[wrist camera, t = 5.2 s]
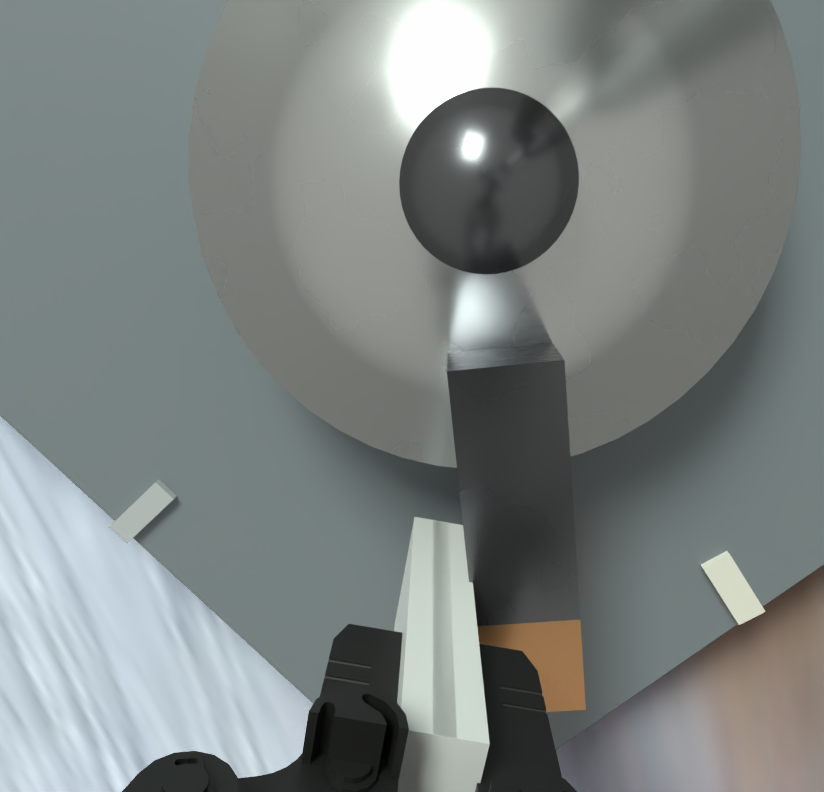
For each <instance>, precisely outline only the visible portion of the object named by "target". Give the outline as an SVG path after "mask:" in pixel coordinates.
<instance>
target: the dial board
mask: <svg viewBox="0 0 824 792" xmlns="http://www.w3.org/2000/svg"><path fill="white" fill-rule="evenodd" d="M228 1H229V0H0V416H1V417H3V418H4V419H5V420H6V421H7V422H8V423H9V424H10V425H11V426H12V427H13V428H15V429H16V430H17V431H18V432H19V433H20V434H21V435H22V436H23V437H24V438H25V439H26V440H28V441H29V442H30V443H31V444H32V445H33V446H34V447H35V448H36V449H37V450H38V451H40V452H41V453H42V454H43V455H44V456H45V457H46V458H47V459H48V460H49V461H50V462H51V463H53V464H54V465H55V466H56V467H57V468H58V469H59V470H60V471H61V472H62V473H63V474H65V475H66V476H67V477H68V478H69V479H70V480H71V481H72V482H73V483H74V484H75V485H76V486H78V487H79V488H80V489H81V490H82V491H83V492H84V493H85V494H86V495H87V496H88V497H90V498H91V499H92V500H93V501H94V502H95V503H96V504H97V505H98V506H99V507H100V508H101V509H103V510H104V511H105V512H106V513H107V514H108V515H109V516H110V517H111V518H112V519H113V520H115V522H114V523H113V524H112V525H111V526H110V527H109V528H110V529H112V530H113V531H114V532H115V533H116V534H117V535H118V536H119V537H120V538H121V539H122V540H124V541H125V542H126V543H128V542H129V541H130V540H131V539H132V538H134V539H135V540H136V541H137V542H138V543H140V544H141V545H142V546H143V547H144V548H145V549H146V550H147V551H148V552H149V553H150V554H151V555H153V556H154V557H155V558H156V559H157V560H158V561H159V562H160V563H161V564H162V565H163V566H165V567H166V568H167V569H168V570H169V571H170V572H171V573H172V574H173V575H174V576H175V577H176V578H178V579H179V580H180V581H181V582H182V583H183V584H184V585H185V586H186V587H187V588H188V589H190V590H191V591H192V592H193V593H194V594H195V595H196V596H197V597H198V598H199V599H200V600H201V601H203V602H204V603H205V604H206V605H207V606H208V607H209V608H210V609H211V610H212V611H213V612H215V613H216V614H217V615H218V616H219V617H220V618H221V619H222V620H223V621H224V622H225V623H226V624H228V625H229V626H230V627H231V628H232V629H233V630H234V631H235V632H236V633H237V634H238V635H240V636H241V637H242V638H243V639H244V640H245V641H246V642H247V643H248V644H249V645H250V646H251V647H253V648H254V649H255V650H256V651H257V652H258V653H259V654H260V655H261V656H262V657H263V658H265V659H266V660H267V661H268V662H269V663H270V664H271V665H272V666H273V667H274V668H275V669H276V670H278V671H279V672H280V673H281V674H282V675H283V676H284V677H285V678H286V679H287V680H288V681H290V682H291V683H292V684H293V685H294V686H295V687H296V688H297V689H298V690H299V691H300V692H301V693H303V694H304V695H305V696H306V697H307V698H308V699H309V700H310V701H311V702H312V703H313V704H314V702H315V700H316V699H317V698H319V697H320V693H321V689H322V685H323V681H324V677H325V672H326V668H327V664H328V660H329V656H330V652H331V647H332V643H333V639H334V638H335V637H336V636H337V635H338V634H339V633H340V632H341V631H342V630H343V629H344V628H345V627H346V626H347V625H348V624H354V625H360V626H366V627H372V628H378V629H384V630H390V631H394V626H395V619H396V614H397V608H398V603H399V598H400V592H401V587H402V582H403V576H404V571H405V565H406V560H407V555H408V549H409V544H410V538H411V533H412V528H413V522H414V517H419V518H425V519H431V520H437V521H443V522H448V523H454V524H460V525H463V520H462V511H461V501H460V492H459V483H458V473H457V468H454V467H444V466H436V465H432V464H428V463H423V462H419V461H414V460H410V459H405V458H402V457H399V456H396V455H394V454H391V453H388V452H385V451H382V450H380V449H377V448H374V447H371V446H369V445H367V444H365V443H363V442H361V441H359V440H357V439H355V438H353V437H351V436H349V435H347V434H345V433H343V432H341V431H339V430H338V429H336V428H335V427H333V426H332V425H330V424H329V423H327V422H326V421H324V420H323V419H321V418H320V417H318V416H317V415H315V414H314V413H312V412H311V411H309V410H308V409H307V408H306V407H305V406H304V405H302V404H301V403H300V402H299V401H298V400H297V399H295V398H294V397H293V396H292V395H291V394H290V393H288V392H287V391H286V390H285V389H284V388H283V387H282V386H281V385H280V384H279V383H278V382H277V381H276V380H275V379H274V378H273V376H272V375H271V374H270V373H269V372H268V371H267V370H266V369H265V368H264V367H263V365H262V364H261V363H260V362H259V361H258V360H257V359H256V357H255V356H254V354H253V353H252V352H251V350H250V349H249V347H248V346H247V344H246V343H245V342H244V340H243V339H242V337H241V336H240V335H239V333H238V332H237V330H236V329H235V327H234V325H233V323H232V321H231V319H230V318H229V316H228V314H227V312H226V310H225V308H224V306H223V305H222V303H221V301H220V299H219V297H218V295H217V292H216V290H215V287H214V285H213V282H212V280H211V277H210V274H209V272H208V269H207V267H206V264H205V262H204V259H203V255H202V251H201V247H200V243H199V239H198V235H197V231H196V227H195V223H194V217H193V209H192V201H191V193H190V186H189V135H190V126H191V118H192V109H193V101H194V96H195V92H196V88H197V84H198V80H199V76H200V72H201V68H202V64H203V59H204V56H205V54H206V51H207V49H208V46H209V43H210V41H211V38H212V36H213V33H214V30H215V28H216V25H217V23H218V20H219V18H220V16H221V14H222V12H223V10H224V8H225V6H226V5H227V3H228ZM770 1H771V3H772V5H773V7H774V9H775V11H776V14H777V16H778V18H779V21H780V24H781V27H782V30H783V33H784V36H785V39H786V43H787V46H788V49H789V52H790V55H791V58H792V62H793V68H794V74H795V80H796V85H797V91H798V97H799V103H800V125H801V157H800V168H799V179H798V190H797V195H796V199H795V204H794V208H793V213H792V218H791V222H790V227H789V231H788V234H787V237H786V240H785V243H784V246H783V248H782V251H781V254H780V257H779V260H778V262H777V265H776V268H775V271H774V273H773V275H772V277H771V279H770V281H769V283H768V285H767V287H766V289H765V291H764V293H763V295H762V297H761V299H760V301H759V303H758V305H757V307H756V309H755V310H754V312H753V313H752V315H751V316H750V318H749V319H748V321H747V323H746V324H745V326H744V327H743V329H742V330H741V332H740V333H739V335H738V336H737V338H736V339H735V341H734V342H733V343H732V344H731V346H730V347H729V348H728V349H727V350H726V352H725V353H724V354H723V355H722V356H721V357H720V359H719V360H718V361H717V362H716V363H715V365H714V366H713V367H712V368H711V369H710V370H709V372H708V373H707V374H705V375H704V376H703V377H702V378H701V379H700V380H699V381H698V382H697V383H696V384H695V385H694V386H693V387H691V388H690V389H689V390H688V391H687V392H686V393H685V394H684V395H683V396H682V397H681V398H680V399H678V400H677V401H676V402H674V403H673V404H671V405H670V406H669V407H667V408H666V409H665V410H663V411H662V412H660V413H659V414H658V415H656V416H655V417H653V418H652V419H651V420H649V421H648V422H646V423H644V424H643V425H641V426H639V427H637V428H635V429H634V430H632V431H630V432H628V433H626V434H625V435H623V436H621V437H619V438H617V439H616V440H613V441H611V442H608V443H606V444H603V445H601V446H599V447H596V448H594V449H591V450H589V451H586V452H584V453H581V454H578V455H574V456H571V474H572V490H573V507H574V523H575V539H576V556H577V572H578V589H579V605H580V621H581V638H582V654H583V671H584V687H585V703H586V710H574V711H555V712H546V714H547V715H548V719H549V723H550V728H551V732H552V737H553V741H554V746H555V750H556V749H557V748H559V747H560V746H562V745H563V744H565V743H566V742H568V741H569V740H570V739H572V738H573V737H575V736H576V735H578V734H579V733H581V732H582V731H583V730H585V729H586V728H588V727H589V726H591V725H592V724H594V723H595V722H596V721H598V720H599V719H601V718H602V717H604V716H605V715H607V714H608V713H609V712H611V711H612V710H614V709H615V708H617V707H618V706H620V705H621V704H622V703H624V702H625V701H627V700H628V699H630V698H631V697H633V696H634V695H636V694H637V693H638V692H640V691H641V690H643V689H644V688H646V687H647V686H649V685H650V684H651V683H653V682H654V681H656V680H657V679H659V678H660V677H662V676H663V675H664V674H666V673H667V672H669V671H670V670H672V669H673V668H675V667H676V666H677V665H679V664H680V663H682V662H683V661H685V660H686V659H688V658H689V657H691V656H692V655H693V654H695V653H696V652H698V651H699V650H701V649H702V648H704V647H705V646H706V645H708V644H709V643H711V642H712V641H714V640H715V639H717V638H718V637H719V636H721V635H722V634H724V633H725V632H727V631H728V630H730V629H731V628H732V627H734V626H735V625H737V624H739V625H740V624H742V623H744V622H746V621H748V620H750V619H752V618H754V617H756V616H758V615H760V614H762V613H764V612H766V611H765V610H764V608H763V606H764V605H766V604H767V603H769V602H770V601H772V600H773V599H774V598H776V597H777V596H779V595H780V594H782V593H783V592H785V591H786V590H787V589H789V588H790V587H792V586H793V585H795V584H796V583H798V582H799V581H800V580H802V579H803V578H805V577H806V576H808V575H809V574H811V573H812V572H814V571H815V570H816V569H818V568H819V567H821V566H822V565H824V0H770Z"/></svg>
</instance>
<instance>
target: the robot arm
mask: <svg viewBox="0 0 824 792" xmlns="http://www.w3.org/2000/svg"><path fill="white" fill-rule="evenodd" d="M122 792H577V791H576V790H575V789H574V788H573V787H572V786H571V785H570V784H569V783H568V782H567V781H566V780H565V779H563V778H562V777H561V772H560V768H559V763H558V759H557V754H556V750H555V746H554V741H553V737H552V732H551V728H550V723H549V719H548V715H547V714H546V706H545V701H544V697H543V696H542V688H541V683H540V679H539V675H538V671H537V669H536V668H535V667H534V665H533V664H532V663H531V662H530V660H529V659H528V658H527V656H526V655H525V654H524V652H523V651H520V650H514V649H508V648H502V647H496V646H490V645H484V644H479V637H478V628H477V618H476V609H475V599H474V589H473V583H471V582H469V577H468V568H467V558H466V549H465V539H464V530H463V525H460V524H454V523H448V522H443V521H437V520H431V519H425V518H419V517H414V522H413V528H412V533H411V538H410V544H409V549H408V555H407V560H406V565H405V571H404V576H403V582H402V587H401V592H400V598H399V603H398V608H397V614H396V619H395V626H394V631H390V630H384V629H378V628H372V627H366V626H360V625H354V624H348V625H347V626H346V627H345V628H344V629H343V630H342V631H341V632H340V633H339V634H338V635H337V636H336V637H335V638H334V639H333V643H332V647H331V652H330V656H329V660H328V664H327V668H326V672H325V677H324V681H323V685H322V689H321V693H320V697H319V698H317V699H316V700H315V702H314V704H313V706H312V707H311V709H310V711H309V715H308V721H307V728H306V734H305V741H304V747H303V753H302V754H301V756H300V757H299V758H298V759H297V760H296V761H294V762H293V763H292V764H290V765H289V766H288V767H286V768H284V769H281V770H279V771H277V772H274V773H271V774H267V775H262V776H256V777H248V778H239V779H238V778H237V776H236V775H235V773H234V771H233V770H232V768H231V767H230V765H229V764H227V763H226V762H224V761H223V760H221V759H219V758H218V757H216V756H215V755H211V754H206V753H202V752H197V751H190V752H179V753H173V754H170V755H168V756H165V757H163V758H160V759H158V760H155V761H154V762H152V763H151V764H150V765H149V766H147V767H146V768H145V769H143V770H142V771H141V772H140V773H139V774H138V775H137V776H136V777H135V778H134V779H133V780H132V781H131V782H130V784H129V785H128V786H127V787H126V788H125V789H124V790H123V791H122Z"/></svg>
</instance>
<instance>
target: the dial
mask: <svg viewBox="0 0 824 792" xmlns="http://www.w3.org/2000/svg"><path fill="white" fill-rule="evenodd" d="M800 157H801V125H800V103H799V97H798V91H797V85H796V80H795V74H794V68H793V62H792V58H791V55H790V52H789V49H788V46H787V43H786V39H785V36H784V33H783V30H782V27H781V24H780V21H779V18H778V16H777V14H776V11H775V9H774V7H773V5H772V3H771V1H770V0H229V1H228V3H227V5H226V6H225V8H224V10H223V12H222V14H221V16H220V18H219V20H218V23H217V25H216V28H215V30H214V33H213V36H212V38H211V41H210V43H209V46H208V49H207V51H206V54H205V56H204V59H203V64H202V68H201V72H200V76H199V80H198V84H197V88H196V92H195V96H194V101H193V109H192V118H191V126H190V135H189V186H190V193H191V201H192V209H193V217H194V223H195V227H196V231H197V235H198V239H199V243H200V247H201V251H202V255H203V259H204V262H205V264H206V267H207V269H208V272H209V274H210V277H211V280H212V282H213V285H214V287H215V290H216V292H217V295H218V297H219V299H220V301H221V303H222V305H223V306H224V308H225V310H226V312H227V314H228V316H229V318H230V319H231V321H232V323H233V325H234V327H235V329H236V330H237V332H238V333H239V335H240V336H241V337H242V339H243V340H244V342H245V343H246V344H247V346H248V347H249V349H250V350H251V352H252V353H253V354H254V356H255V357H256V359H257V360H258V361H259V362H260V363H261V364H262V365H263V367H264V368H265V369H266V370H267V371H268V372H269V373H270V374H271V375H272V376H273V378H274V379H275V380H276V381H277V382H278V383H279V384H280V385H281V386H282V387H283V388H284V389H285V390H286V391H287V392H288V393H290V394H291V395H292V396H293V397H294V398H295V399H297V400H298V401H299V402H300V403H301V404H302V405H304V406H305V407H306V408H307V409H308V410H309V411H311V412H312V413H314V414H315V415H317V416H318V417H320V418H321V419H323V420H324V421H326V422H327V423H329V424H330V425H332V426H333V427H335V428H336V429H338V430H339V431H341V432H343V433H345V434H347V435H349V436H351V437H353V438H355V439H357V440H359V441H361V442H363V443H365V444H367V445H369V446H371V447H374V448H377V449H380V450H382V451H385V452H388V453H391V454H394V455H396V456H399V457H402V458H405V459H410V460H414V461H419V462H423V463H428V464H432V465H436V466H444V467H454V468H457V473H458V483H459V492H460V501H461V511H462V520H463V530H464V539H465V549H466V558H467V568H468V577H469V582H471V583H473V589H474V599H475V609H476V618H477V628H478V637H479V644H484V645H490V646H496V647H502V648H508V649H514V650H520V651H523V652H524V654H525V655H526V656H527V658H528V659H529V660H530V662H531V663H532V664H533V665H534V667H535V668H536V669H537V671H538V675H539V679H540V683H541V688H542V696H543V697H544V701H545V706H546V712H555V711H574V710H586V703H585V687H584V671H583V654H582V638H581V621H580V605H579V589H578V572H577V556H576V539H575V523H574V507H573V490H572V474H571V456H574V455H578V454H581V453H584V452H586V451H589V450H591V449H594V448H596V447H599V446H601V445H603V444H606V443H608V442H611V441H613V440H616V439H617V438H619V437H621V436H623V435H625V434H626V433H628V432H630V431H632V430H634V429H635V428H637V427H639V426H641V425H643V424H644V423H646V422H648V421H649V420H651V419H652V418H653V417H655V416H656V415H658V414H659V413H660V412H662V411H663V410H665V409H666V408H667V407H669V406H670V405H671V404H673V403H674V402H676V401H677V400H678V399H680V398H681V397H682V396H683V395H684V394H685V393H686V392H687V391H688V390H689V389H690V388H691V387H693V386H694V385H695V384H696V383H697V382H698V381H699V380H700V379H701V378H702V377H703V376H704V375H705V374H707V373H708V372H709V370H710V369H711V368H712V367H713V366H714V365H715V363H716V362H717V361H718V360H719V359H720V357H721V356H722V355H723V354H724V353H725V352H726V350H727V349H728V348H729V347H730V346H731V344H732V343H733V342H734V341H735V339H736V338H737V336H738V335H739V333H740V332H741V330H742V329H743V327H744V326H745V324H746V323H747V321H748V319H749V318H750V316H751V315H752V313H753V312H754V310H755V309H756V307H757V305H758V303H759V301H760V299H761V297H762V295H763V293H764V291H765V289H766V287H767V285H768V283H769V281H770V279H771V277H772V275H773V273H774V271H775V268H776V265H777V262H778V260H779V257H780V254H781V251H782V248H783V246H784V243H785V240H786V237H787V234H788V231H789V227H790V222H791V218H792V213H793V208H794V204H795V199H796V195H797V190H798V179H799V168H800Z"/></svg>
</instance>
